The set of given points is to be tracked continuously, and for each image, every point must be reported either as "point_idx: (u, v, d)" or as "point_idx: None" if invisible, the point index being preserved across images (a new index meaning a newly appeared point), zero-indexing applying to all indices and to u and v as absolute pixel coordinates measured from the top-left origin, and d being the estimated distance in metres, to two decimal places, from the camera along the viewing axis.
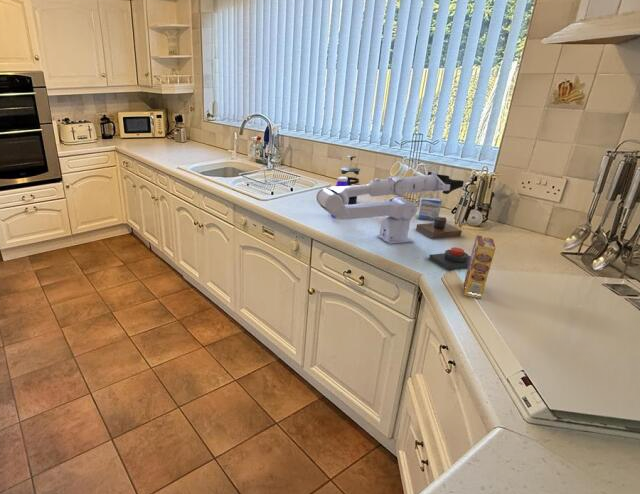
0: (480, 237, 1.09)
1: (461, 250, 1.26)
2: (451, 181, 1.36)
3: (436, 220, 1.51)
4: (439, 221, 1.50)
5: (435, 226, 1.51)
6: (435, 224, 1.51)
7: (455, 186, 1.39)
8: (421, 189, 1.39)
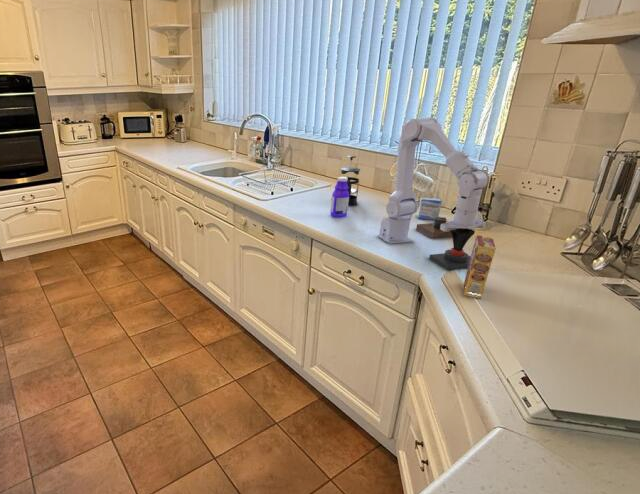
0: (480, 237, 1.09)
1: None
2: (459, 234, 1.22)
3: (436, 220, 1.51)
4: (439, 221, 1.50)
5: (435, 226, 1.51)
6: (435, 224, 1.51)
7: (455, 240, 1.26)
8: (457, 206, 1.21)
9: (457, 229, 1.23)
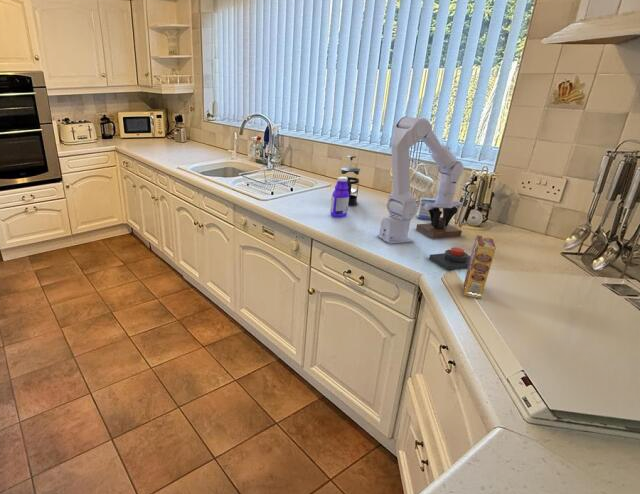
0: (480, 237, 1.09)
1: (461, 250, 1.26)
2: (435, 213, 1.48)
3: None
4: (439, 221, 1.50)
5: None
6: None
7: (433, 218, 1.51)
8: (448, 191, 1.44)
9: (434, 208, 1.48)
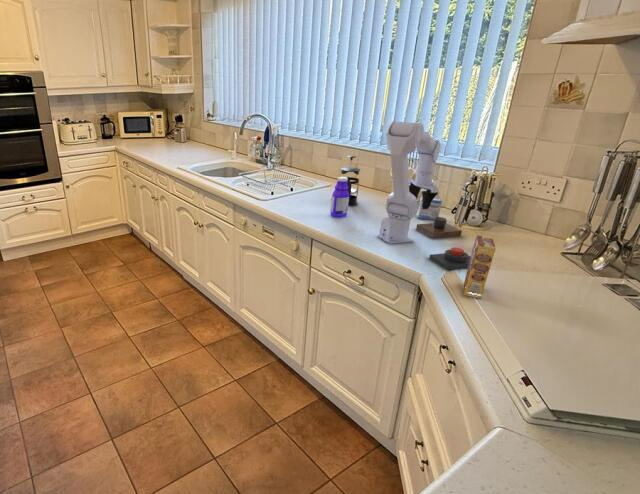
0: (480, 237, 1.09)
1: (461, 250, 1.26)
2: (435, 194, 1.48)
3: (444, 221, 1.50)
4: None
5: (443, 227, 1.50)
6: (443, 225, 1.50)
7: (426, 201, 1.50)
8: (430, 170, 1.47)
9: None
